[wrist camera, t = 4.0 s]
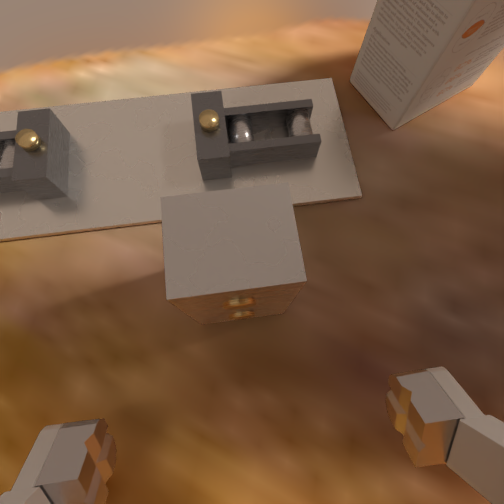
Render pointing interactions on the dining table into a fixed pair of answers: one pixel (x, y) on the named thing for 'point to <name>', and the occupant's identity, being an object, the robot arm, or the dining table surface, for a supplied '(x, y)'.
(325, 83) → the grey long flat board
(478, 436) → the robot arm
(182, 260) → the mini drawer chest
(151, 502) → the dining table surface
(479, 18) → the small box
